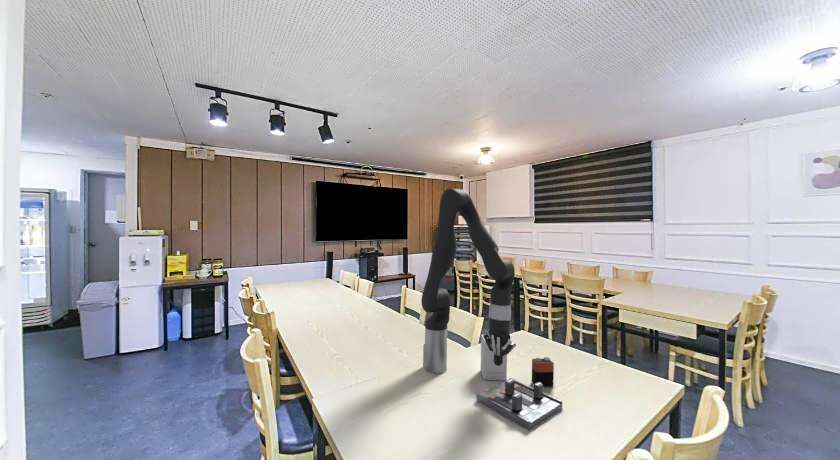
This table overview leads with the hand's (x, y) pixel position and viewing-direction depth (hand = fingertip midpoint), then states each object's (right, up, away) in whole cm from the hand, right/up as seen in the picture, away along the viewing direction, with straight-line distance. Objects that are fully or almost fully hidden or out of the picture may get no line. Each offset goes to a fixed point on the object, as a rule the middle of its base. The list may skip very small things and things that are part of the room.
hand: (498, 364), depth 112 cm
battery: (+19, -11, +8) cm, 23 cm away
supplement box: (+2, -11, +15) cm, 18 cm away
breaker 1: (+3, -8, -4) cm, 9 cm away
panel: (+5, -11, -7) cm, 13 cm away
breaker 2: (+3, -8, -13) cm, 16 cm away
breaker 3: (+12, -8, -6) cm, 16 cm away
